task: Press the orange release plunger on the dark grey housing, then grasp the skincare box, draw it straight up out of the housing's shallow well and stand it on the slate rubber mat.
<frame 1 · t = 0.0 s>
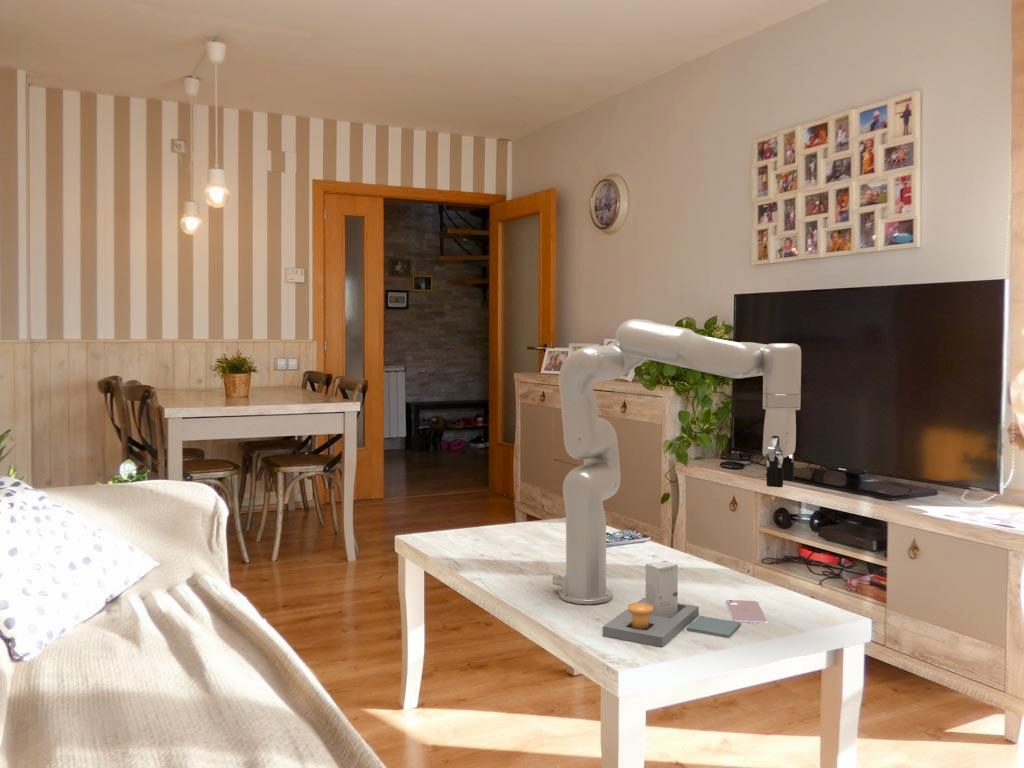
hand: (780, 483, 179), 31 cm above the table, tool pointing down, fingers open, 9 cm apart
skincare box: (661, 618, 188), resting in housing
mobile phone: (745, 614, 192), on the table
mat: (714, 627, 182), on the table
plunger: (640, 616, 177), point 4 cm above the table, slide at 0.0 cm
housing: (651, 625, 183), on the table
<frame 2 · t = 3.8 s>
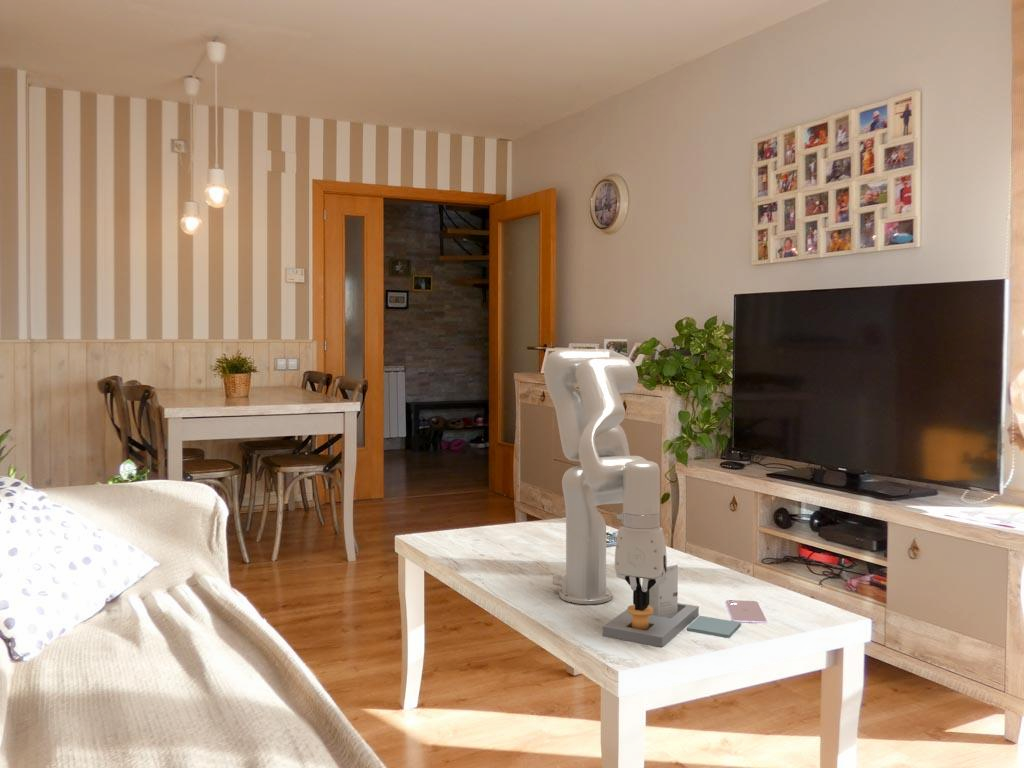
hand: (641, 608, 177), 6 cm above the table, tool pointing down, fingers closed
plunger: (640, 618, 177), point 3 cm above the table, slide at 0.4 cm, touching gripper
everything else where it was.
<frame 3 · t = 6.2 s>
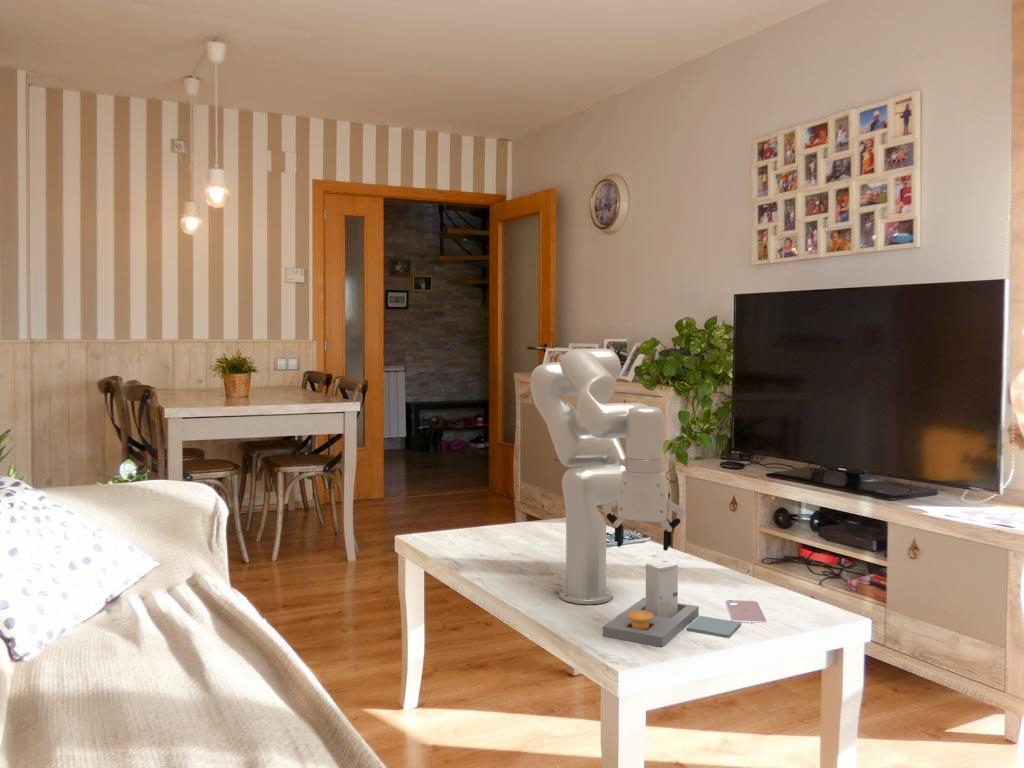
hand: (642, 547, 178), 18 cm above the table, tool pointing down, fingers open, 9 cm apart
plunger: (640, 624, 177), point 2 cm above the table, slide at 1.6 cm
everything else where it was.
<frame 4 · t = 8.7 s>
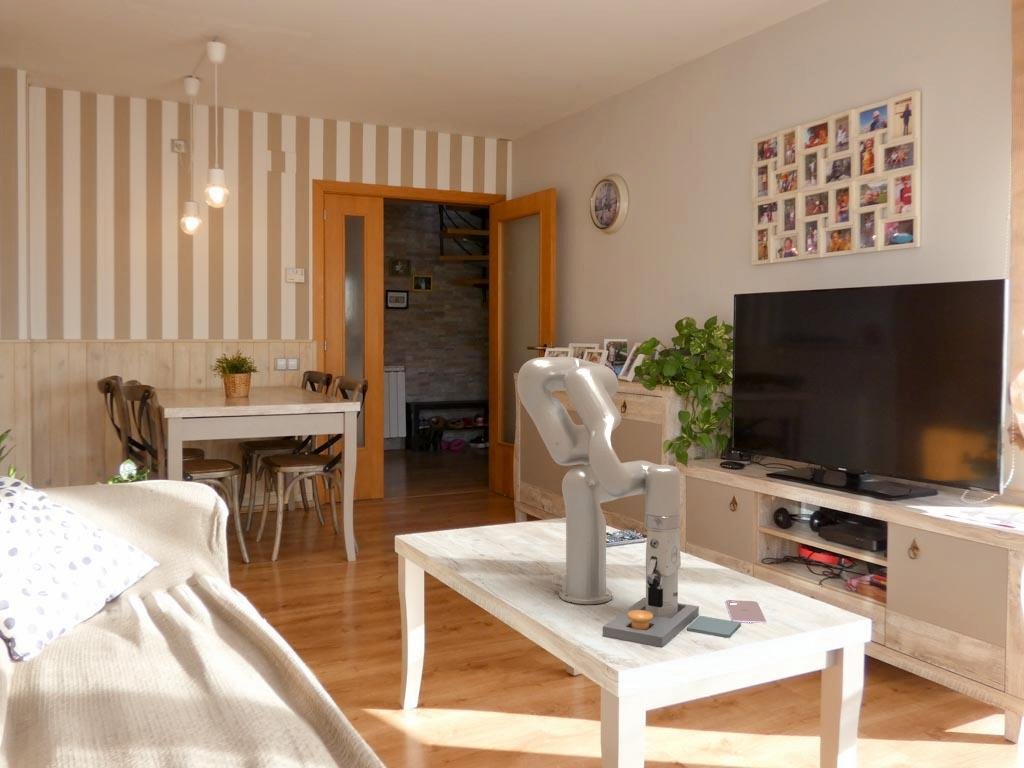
hand: (661, 600, 188), 4 cm above the table, tool pointing down, fingers closed on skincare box, 7 cm apart
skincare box: (661, 618, 188), resting in housing, touching gripper
everything else where it was.
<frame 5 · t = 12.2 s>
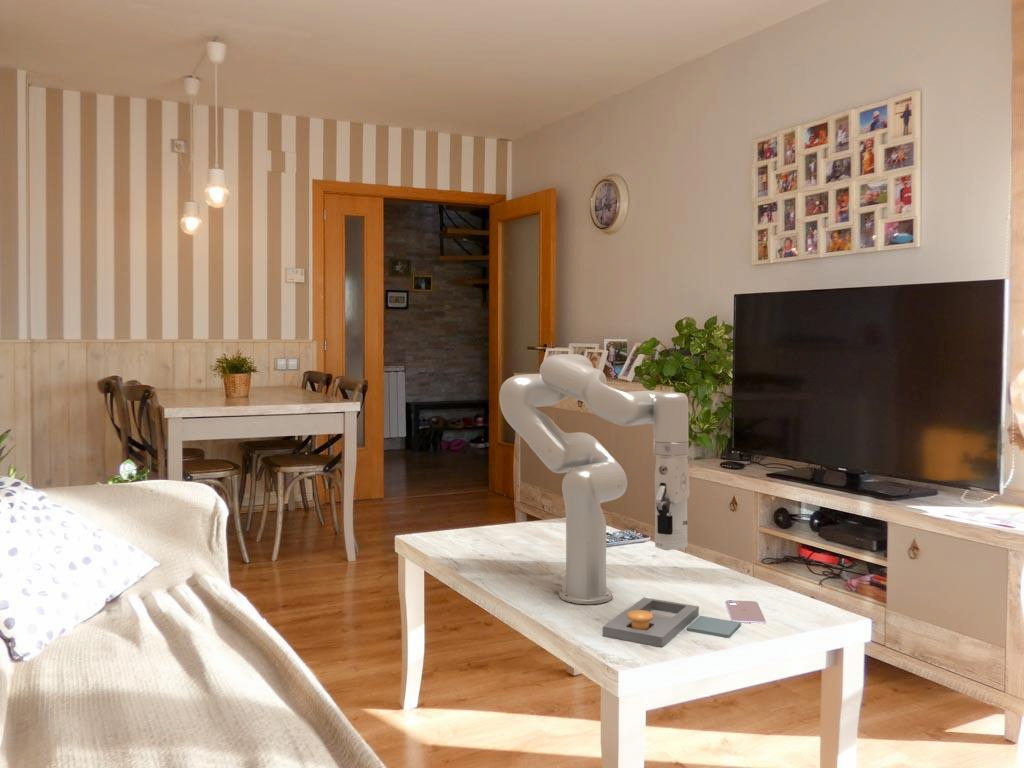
hand: (671, 529, 186), 20 cm above the table, tool pointing down, fingers closed on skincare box, 7 cm apart
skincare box: (671, 548, 186), point 16 cm above the table, touching gripper
everything else where it was.
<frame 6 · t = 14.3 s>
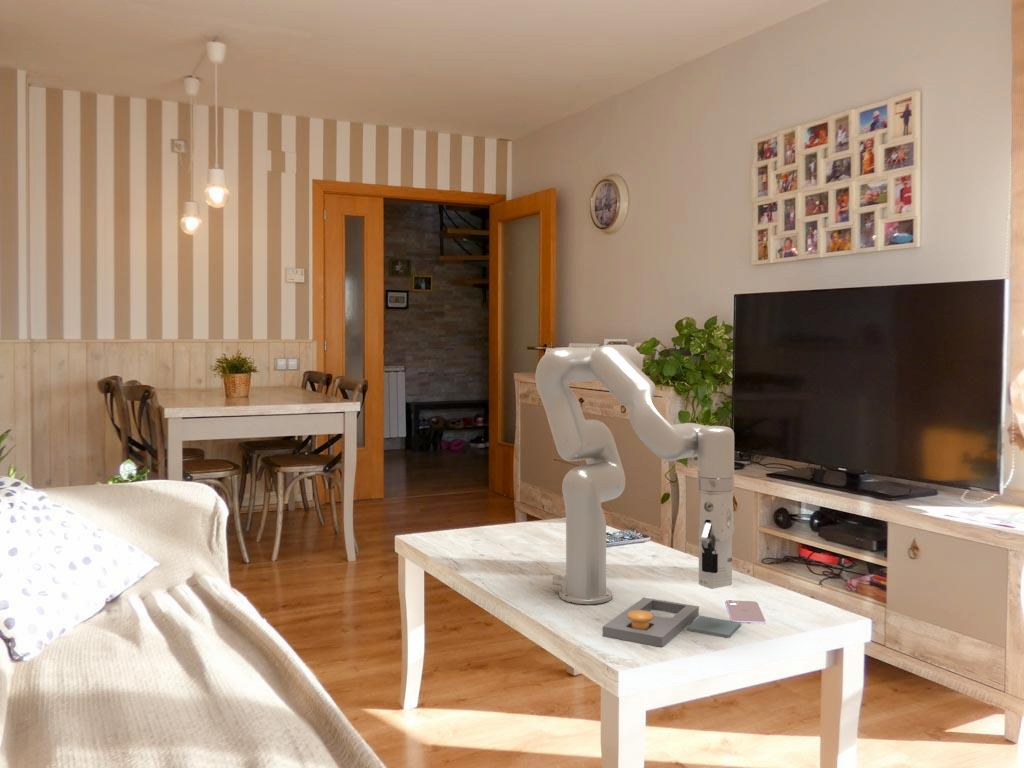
hand: (715, 567, 181), 13 cm above the table, tool pointing down, fingers closed on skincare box, 7 cm apart
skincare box: (715, 585, 181), point 9 cm above the table, touching gripper
everything else where it was.
when the fingers open (6 cm above the table, at t = 16.1 s): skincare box drops 1 cm, resting on mat.
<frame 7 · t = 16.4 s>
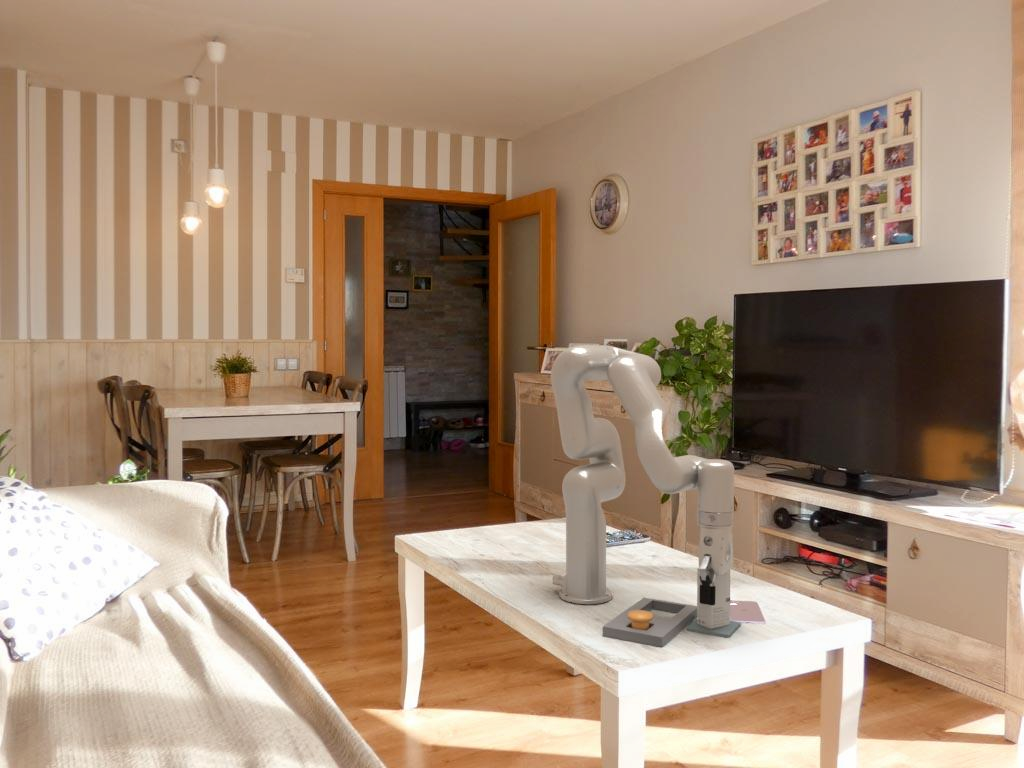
hand: (714, 597, 181), 6 cm above the table, tool pointing down, fingers open, 9 cm apart
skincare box: (713, 625, 182), resting on mat
everything else where it was.
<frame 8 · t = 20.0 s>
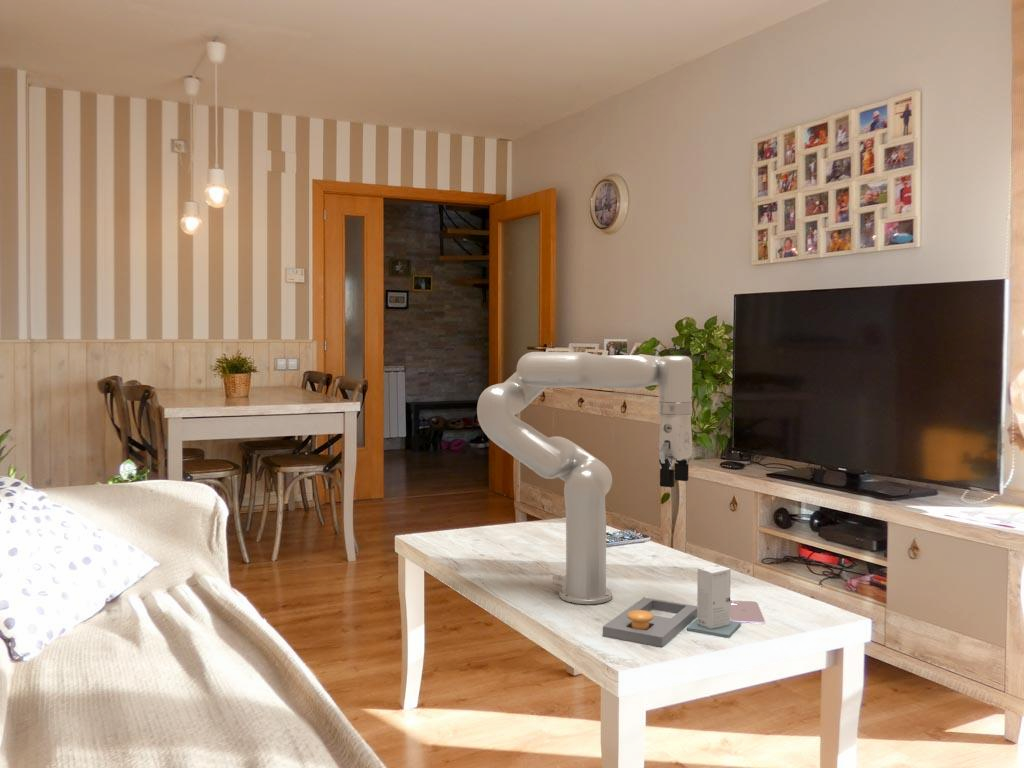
hand: (674, 483, 196), 28 cm above the table, tool pointing down, fingers open, 9 cm apart
nothing on the table moved.
at the end: plunger slide at 1.6 cm; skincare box inside the target area on the mat (0.5 cm from its centre), point 0.4 cm above the mat's base; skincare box tilted 0° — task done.
